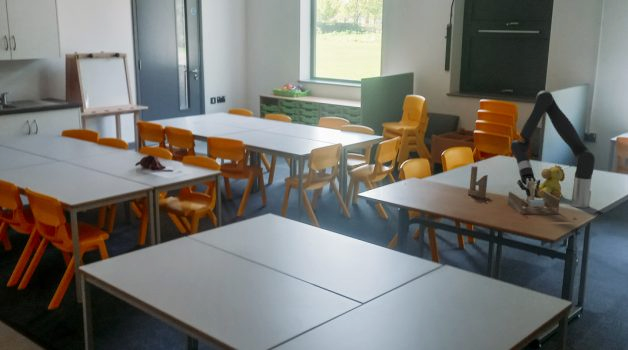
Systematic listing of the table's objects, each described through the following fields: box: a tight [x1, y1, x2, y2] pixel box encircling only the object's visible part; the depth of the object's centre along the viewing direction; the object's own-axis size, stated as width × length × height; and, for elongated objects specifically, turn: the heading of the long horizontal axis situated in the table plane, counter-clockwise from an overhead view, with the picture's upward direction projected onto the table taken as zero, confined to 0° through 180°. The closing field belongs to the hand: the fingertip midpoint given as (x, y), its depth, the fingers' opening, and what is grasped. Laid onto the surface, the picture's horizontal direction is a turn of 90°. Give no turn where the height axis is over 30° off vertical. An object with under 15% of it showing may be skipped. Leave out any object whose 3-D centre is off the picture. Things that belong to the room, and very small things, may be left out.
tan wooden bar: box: [525, 181, 536, 202], centre depth 377 cm, size 2×4×15 cm, turn 6°
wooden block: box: [467, 165, 488, 199], centre depth 403 cm, size 4×11×18 cm, turn 41°
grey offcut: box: [528, 199, 545, 207], centre depth 370 cm, size 8×3×3 cm, turn 96°
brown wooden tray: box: [507, 190, 561, 215], centre depth 374 cm, size 22×18×9 cm
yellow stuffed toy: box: [535, 164, 569, 200], centre depth 409 cm, size 20×24×19 cm
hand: (532, 195), depth 375 cm, fingers open, 3 cm apart
